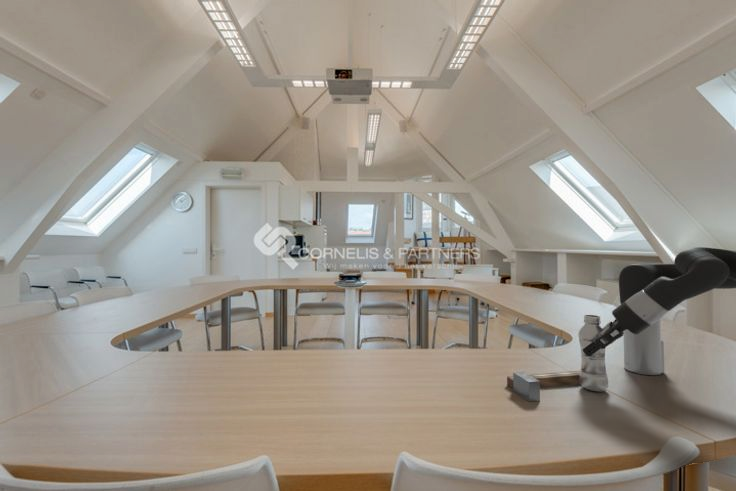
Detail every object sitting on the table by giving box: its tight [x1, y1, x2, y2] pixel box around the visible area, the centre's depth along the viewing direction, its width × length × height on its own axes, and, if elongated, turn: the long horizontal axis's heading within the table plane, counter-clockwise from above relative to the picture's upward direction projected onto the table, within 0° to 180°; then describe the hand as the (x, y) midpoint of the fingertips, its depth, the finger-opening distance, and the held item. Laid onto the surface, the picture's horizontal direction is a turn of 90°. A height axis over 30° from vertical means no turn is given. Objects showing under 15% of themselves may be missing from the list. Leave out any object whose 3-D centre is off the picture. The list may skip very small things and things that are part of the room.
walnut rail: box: [506, 370, 581, 390], centre depth 101 cm, size 28×3×3 cm, turn 99°
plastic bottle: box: [577, 314, 610, 392], centre depth 96 cm, size 6×7×20 cm
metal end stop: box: [512, 371, 541, 403], centre depth 93 cm, size 3×7×5 cm, turn 9°
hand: (587, 349), depth 97 cm, fingers open, 8 cm apart
